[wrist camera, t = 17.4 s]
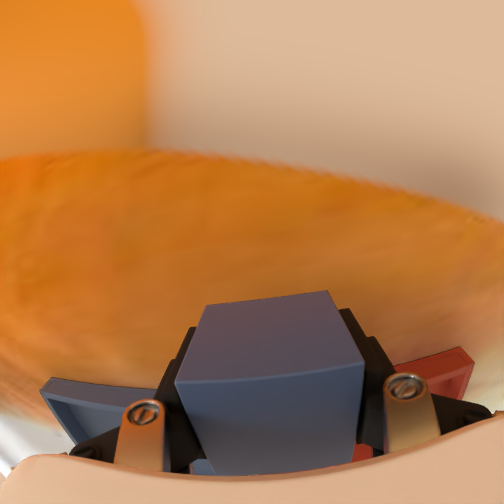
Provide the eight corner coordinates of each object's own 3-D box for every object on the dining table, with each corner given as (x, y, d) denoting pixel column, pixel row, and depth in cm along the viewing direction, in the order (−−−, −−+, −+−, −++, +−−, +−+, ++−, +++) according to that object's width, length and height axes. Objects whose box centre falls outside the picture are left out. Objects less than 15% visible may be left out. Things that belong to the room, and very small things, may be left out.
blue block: (227, 393, 12) (215, 475, 7) (205, 304, 10) (172, 381, 6) (330, 382, 11) (352, 462, 7) (327, 289, 10) (366, 361, 6)
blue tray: (111, 466, 20) (105, 479, 18) (51, 376, 17) (38, 390, 15) (251, 482, 19) (249, 500, 17) (221, 389, 16) (215, 412, 14)
